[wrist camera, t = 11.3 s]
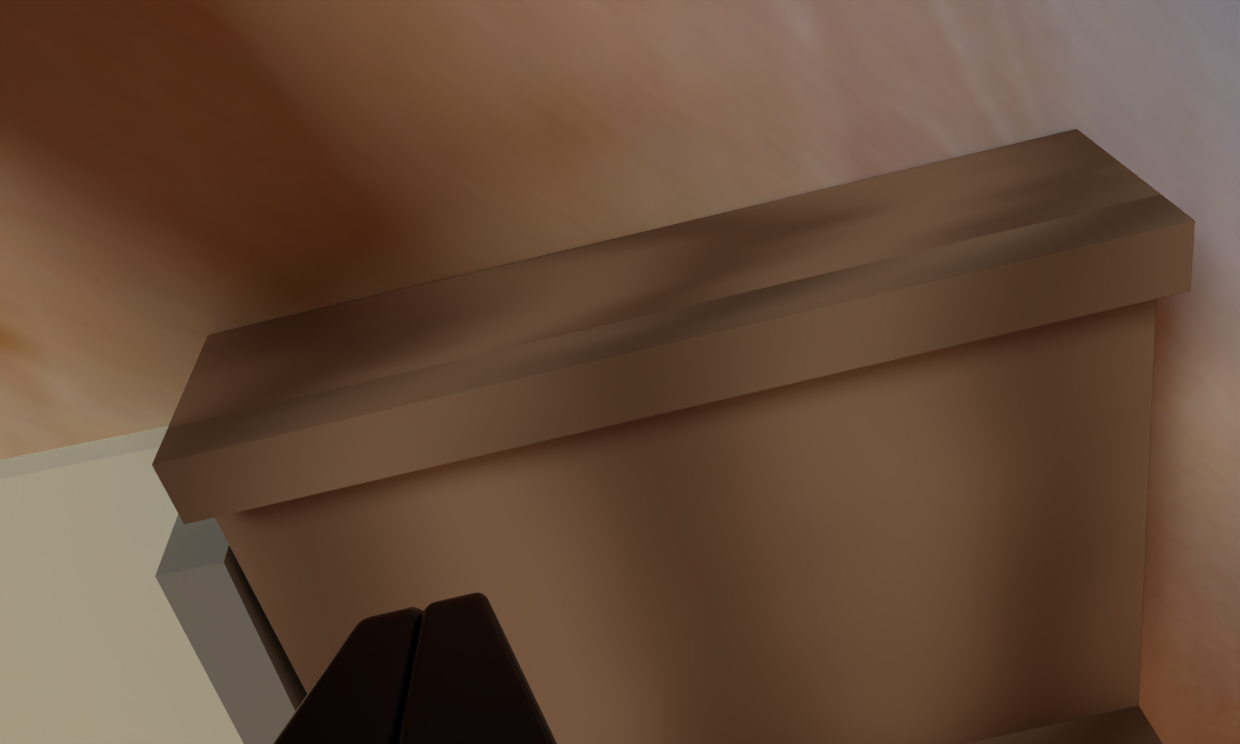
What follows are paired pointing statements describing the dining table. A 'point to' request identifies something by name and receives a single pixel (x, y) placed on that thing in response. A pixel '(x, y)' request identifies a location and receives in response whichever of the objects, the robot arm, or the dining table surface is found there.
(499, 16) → the dining table surface
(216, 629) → the cover plate
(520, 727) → the robot arm
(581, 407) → the walnut box
